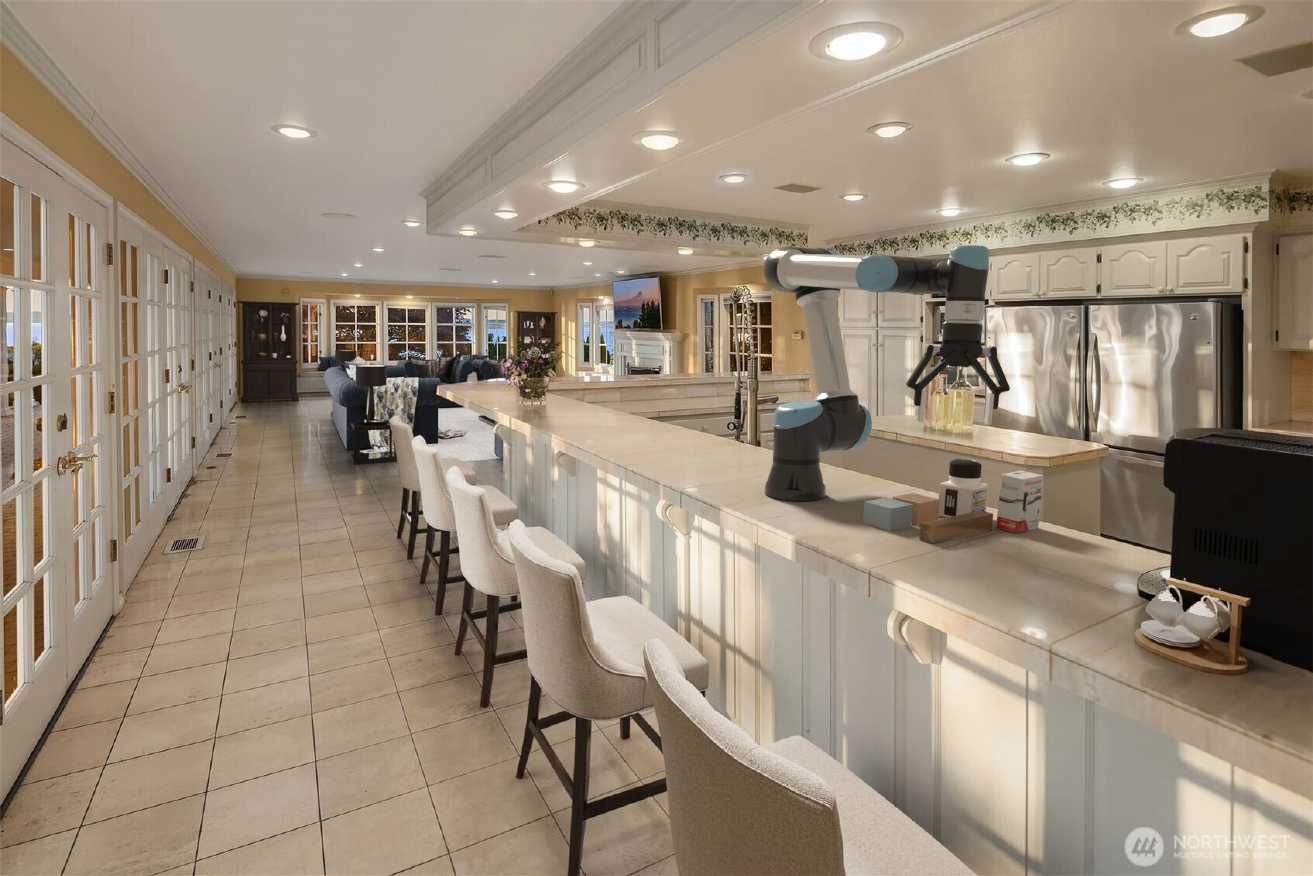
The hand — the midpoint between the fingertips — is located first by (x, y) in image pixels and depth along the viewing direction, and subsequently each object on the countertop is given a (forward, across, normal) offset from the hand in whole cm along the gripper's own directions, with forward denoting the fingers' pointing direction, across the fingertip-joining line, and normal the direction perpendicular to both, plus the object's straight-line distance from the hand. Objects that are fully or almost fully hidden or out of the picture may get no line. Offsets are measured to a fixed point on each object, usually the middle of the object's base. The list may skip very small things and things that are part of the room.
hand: (953, 422), depth 151 cm
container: (+22, +5, +6) cm, 23 cm away
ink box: (+22, +14, -2) cm, 26 cm away
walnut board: (+22, 0, -10) cm, 24 cm away
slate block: (+22, -13, -5) cm, 26 cm away
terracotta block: (+22, -6, +1) cm, 23 cm away
